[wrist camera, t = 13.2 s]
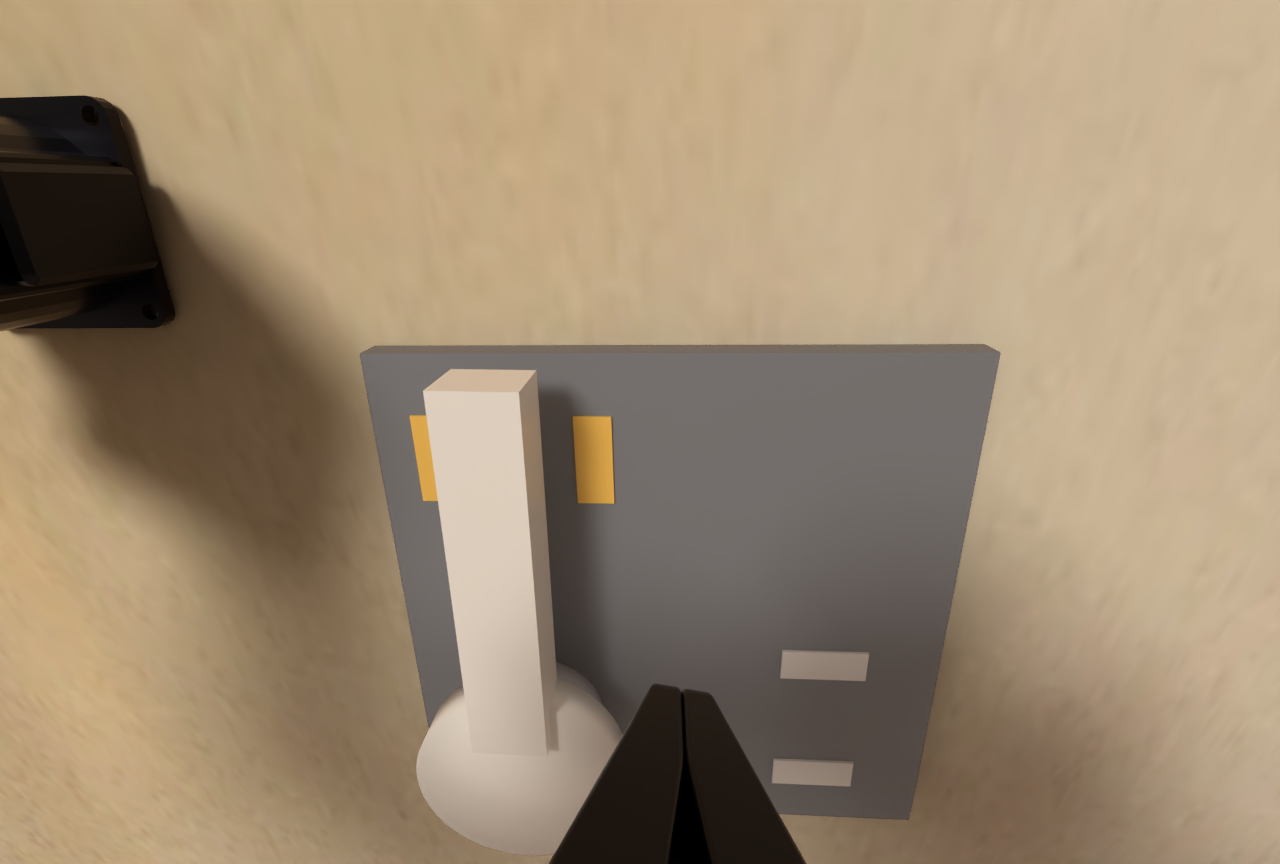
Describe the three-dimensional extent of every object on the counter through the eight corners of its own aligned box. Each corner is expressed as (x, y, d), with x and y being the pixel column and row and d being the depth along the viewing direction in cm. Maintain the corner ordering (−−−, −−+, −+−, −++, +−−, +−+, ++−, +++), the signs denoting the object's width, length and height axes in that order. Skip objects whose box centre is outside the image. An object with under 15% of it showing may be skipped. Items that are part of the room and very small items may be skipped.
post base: (450, 777, 27) (428, 832, 25) (374, 345, 20) (334, 366, 18) (900, 797, 26) (922, 857, 23) (984, 344, 19) (1027, 366, 17)
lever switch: (627, 823, 23) (622, 878, 22) (444, 813, 24) (424, 865, 22) (620, 371, 17) (612, 394, 15) (370, 367, 17) (332, 389, 16)
